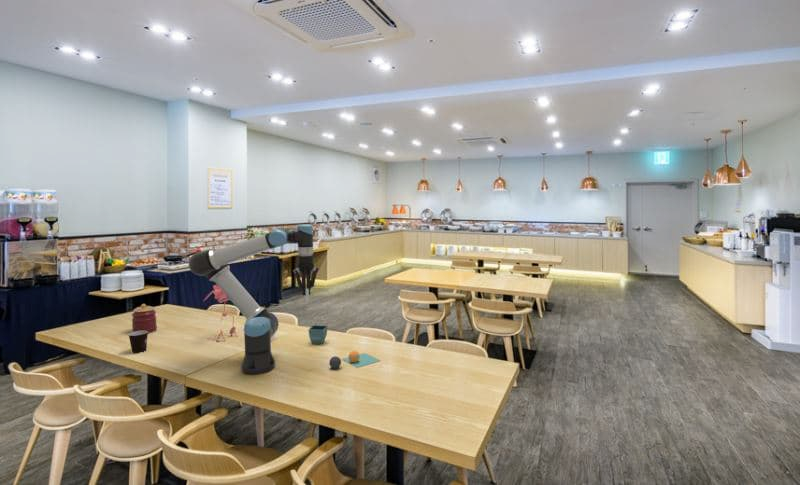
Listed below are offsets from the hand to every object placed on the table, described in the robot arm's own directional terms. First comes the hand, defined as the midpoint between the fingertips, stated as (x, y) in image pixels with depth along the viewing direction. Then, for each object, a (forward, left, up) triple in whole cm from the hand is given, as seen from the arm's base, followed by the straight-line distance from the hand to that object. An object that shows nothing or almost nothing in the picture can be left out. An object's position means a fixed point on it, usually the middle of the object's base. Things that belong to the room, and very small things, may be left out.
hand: (306, 301), depth 203 cm
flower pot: (+15, +17, -29) cm, 37 cm away
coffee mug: (-65, +66, -29) cm, 97 cm away
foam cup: (-5, +41, -29) cm, 51 cm away
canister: (-59, +105, -29) cm, 124 cm away
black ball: (+4, -22, -26) cm, 34 cm away
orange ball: (+15, -21, -26) cm, 37 cm away
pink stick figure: (-25, +61, -29) cm, 72 cm away
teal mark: (+19, -21, -29) cm, 41 cm away
